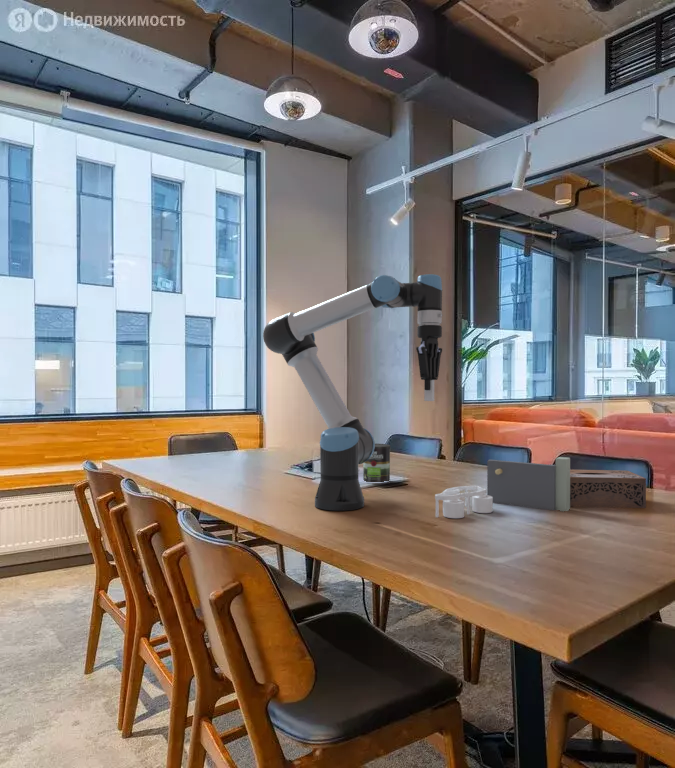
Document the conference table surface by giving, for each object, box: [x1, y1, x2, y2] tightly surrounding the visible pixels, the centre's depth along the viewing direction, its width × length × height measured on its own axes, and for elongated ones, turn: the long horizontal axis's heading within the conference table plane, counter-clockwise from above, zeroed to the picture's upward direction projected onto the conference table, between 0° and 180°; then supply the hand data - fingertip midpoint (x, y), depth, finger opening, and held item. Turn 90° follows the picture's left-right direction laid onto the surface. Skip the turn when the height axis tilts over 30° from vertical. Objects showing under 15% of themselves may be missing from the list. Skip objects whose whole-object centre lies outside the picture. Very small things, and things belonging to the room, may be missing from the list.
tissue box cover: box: [570, 469, 647, 509], centre depth 179 cm, size 26×14×10 cm, turn 83°
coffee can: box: [362, 443, 391, 482], centre depth 218 cm, size 10×10×14 cm
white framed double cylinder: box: [434, 485, 494, 519], centre depth 164 cm, size 20×11×7 cm, turn 122°
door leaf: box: [486, 456, 571, 512], centre depth 173 cm, size 9×23×16 cm, turn 54°
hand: (429, 400), depth 180 cm, fingers closed
